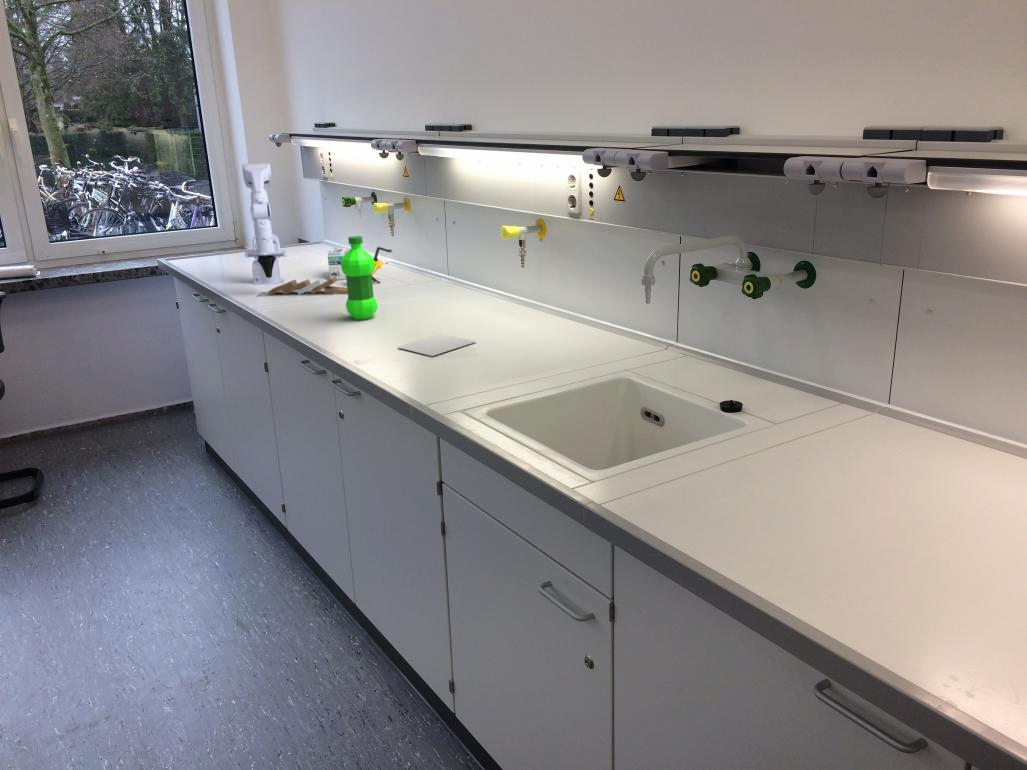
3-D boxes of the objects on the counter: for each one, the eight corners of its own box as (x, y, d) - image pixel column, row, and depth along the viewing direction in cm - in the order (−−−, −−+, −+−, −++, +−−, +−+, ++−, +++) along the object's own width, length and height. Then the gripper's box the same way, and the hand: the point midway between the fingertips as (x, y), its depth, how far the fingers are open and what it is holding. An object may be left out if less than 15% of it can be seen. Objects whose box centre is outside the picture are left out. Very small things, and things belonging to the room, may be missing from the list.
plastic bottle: (347, 323, 256) (339, 240, 248) (345, 315, 266) (337, 235, 258) (380, 319, 259) (373, 238, 251) (376, 312, 268) (370, 233, 260)
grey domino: (302, 291, 300) (324, 281, 298) (298, 294, 295) (320, 284, 294) (300, 287, 299) (322, 277, 298) (296, 290, 295) (318, 280, 293)
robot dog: (397, 282, 313) (394, 246, 309) (351, 288, 305) (347, 251, 300) (391, 279, 318) (388, 244, 313) (345, 286, 309) (342, 249, 305)
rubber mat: (255, 297, 295) (255, 296, 295) (262, 292, 302) (262, 291, 302) (333, 296, 293) (333, 295, 293) (339, 291, 300) (339, 290, 300)
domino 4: (323, 288, 294) (349, 291, 294) (327, 285, 299) (352, 288, 298) (323, 293, 294) (349, 295, 294) (327, 290, 299) (352, 292, 299)
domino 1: (268, 291, 296) (291, 282, 294) (273, 288, 300) (295, 279, 299) (270, 295, 296) (293, 286, 295) (275, 292, 301) (297, 283, 299)
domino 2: (281, 291, 295) (304, 282, 294) (286, 288, 300) (308, 279, 298) (283, 295, 296) (306, 286, 294) (288, 292, 300) (310, 283, 299)
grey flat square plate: (502, 349, 225) (502, 347, 224) (434, 373, 207) (434, 370, 207) (441, 336, 240) (441, 333, 239) (373, 357, 222) (373, 354, 222)
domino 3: (310, 290, 295) (331, 279, 293) (314, 287, 299) (335, 276, 297) (312, 294, 295) (334, 283, 293) (316, 291, 299) (337, 280, 298)
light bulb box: (347, 279, 320) (344, 251, 317) (329, 280, 320) (326, 252, 317) (351, 274, 331) (348, 246, 327) (334, 275, 330) (331, 247, 327)
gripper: (239, 240, 289) (244, 279, 293) (280, 239, 288) (285, 279, 292) (247, 237, 296) (252, 275, 300) (287, 236, 294) (292, 275, 299)
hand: (269, 277), depth 297 cm, fingers closed
